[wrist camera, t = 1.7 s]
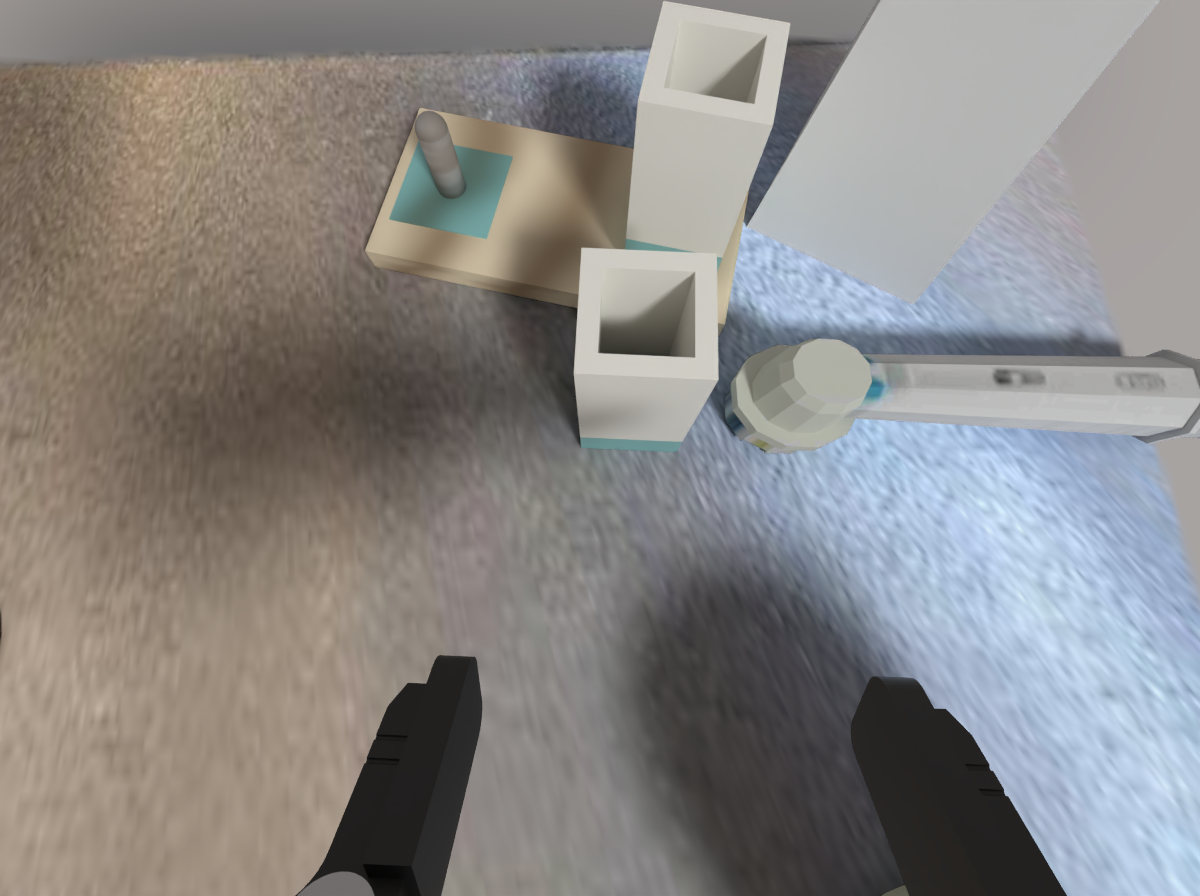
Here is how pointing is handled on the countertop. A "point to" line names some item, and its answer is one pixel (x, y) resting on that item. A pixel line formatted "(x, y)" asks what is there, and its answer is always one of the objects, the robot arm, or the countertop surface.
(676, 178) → the seated sleeve
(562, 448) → the countertop surface
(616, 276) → the sleeve
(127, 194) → the countertop surface
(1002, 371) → the electric toothbrush
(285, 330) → the countertop surface
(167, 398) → the countertop surface
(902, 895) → the reusable coffee cup
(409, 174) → the pin board
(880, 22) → the grater
